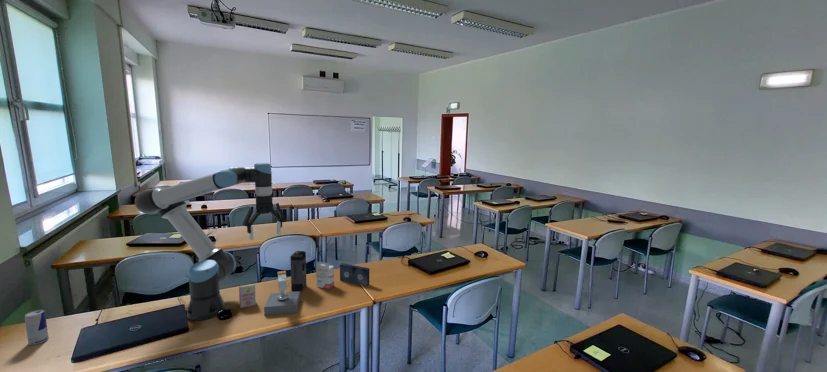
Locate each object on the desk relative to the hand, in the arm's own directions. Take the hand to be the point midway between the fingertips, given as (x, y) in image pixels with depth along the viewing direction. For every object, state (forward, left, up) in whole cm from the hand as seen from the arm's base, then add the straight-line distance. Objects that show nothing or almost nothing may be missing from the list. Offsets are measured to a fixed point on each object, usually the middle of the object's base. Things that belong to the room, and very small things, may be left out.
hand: (265, 236), depth 166 cm
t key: (+9, -10, -29) cm, 32 cm away
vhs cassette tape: (+44, +13, -33) cm, 57 cm away
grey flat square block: (+9, -10, -33) cm, 35 cm away
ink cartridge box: (+28, +10, -33) cm, 44 cm away
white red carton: (-8, -6, -33) cm, 34 cm away
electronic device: (+14, +9, -33) cm, 37 cm away
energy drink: (-80, -24, -33) cm, 90 cm away
